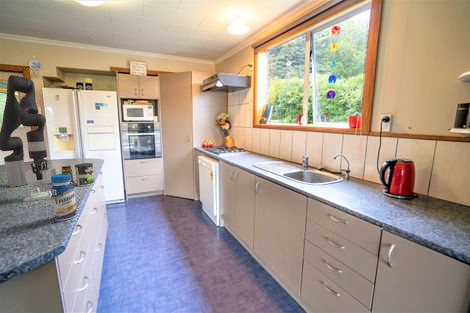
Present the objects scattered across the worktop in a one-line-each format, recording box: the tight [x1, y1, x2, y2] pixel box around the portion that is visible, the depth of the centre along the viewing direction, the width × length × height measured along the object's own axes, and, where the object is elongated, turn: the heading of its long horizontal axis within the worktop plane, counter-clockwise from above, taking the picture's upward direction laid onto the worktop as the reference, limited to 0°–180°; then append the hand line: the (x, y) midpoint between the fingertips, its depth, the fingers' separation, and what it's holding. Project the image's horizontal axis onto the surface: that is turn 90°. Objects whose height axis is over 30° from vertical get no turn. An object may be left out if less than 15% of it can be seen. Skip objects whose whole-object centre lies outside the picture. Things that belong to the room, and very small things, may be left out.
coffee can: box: [74, 162, 95, 187], centre depth 148 cm, size 10×10×14 cm
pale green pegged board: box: [23, 187, 52, 203], centre depth 124 cm, size 14×11×4 cm
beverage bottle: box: [50, 173, 78, 222], centre depth 96 cm, size 8×8×20 cm
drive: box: [25, 167, 57, 183], centre depth 122 cm, size 12×5×6 cm, turn 108°
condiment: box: [61, 165, 74, 184], centre depth 153 cm, size 7×8×12 cm
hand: (41, 178), depth 123 cm, fingers closed on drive, 5 cm apart
